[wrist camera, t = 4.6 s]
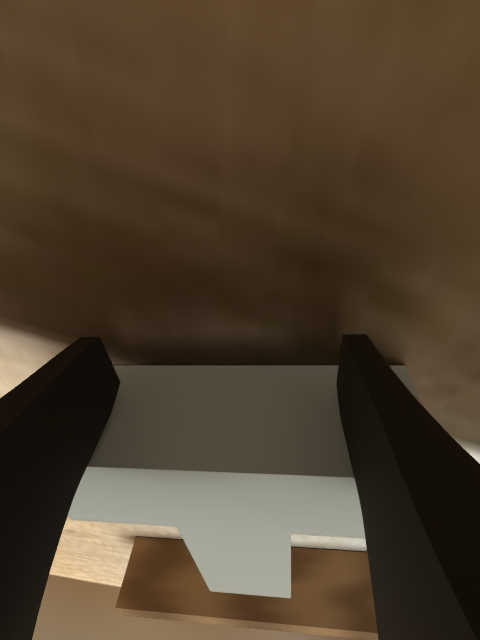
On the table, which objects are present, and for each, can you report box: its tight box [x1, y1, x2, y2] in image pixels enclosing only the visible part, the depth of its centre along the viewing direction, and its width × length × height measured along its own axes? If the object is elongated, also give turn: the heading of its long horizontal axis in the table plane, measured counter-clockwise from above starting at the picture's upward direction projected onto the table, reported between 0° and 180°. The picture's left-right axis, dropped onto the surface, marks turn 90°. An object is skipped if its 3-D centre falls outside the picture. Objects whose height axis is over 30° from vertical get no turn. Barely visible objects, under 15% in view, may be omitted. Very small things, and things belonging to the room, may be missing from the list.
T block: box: [68, 365, 421, 598], centre depth 14 cm, size 12×12×4 cm
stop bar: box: [115, 537, 378, 640], centre depth 22 cm, size 18×2×4 cm, turn 96°
